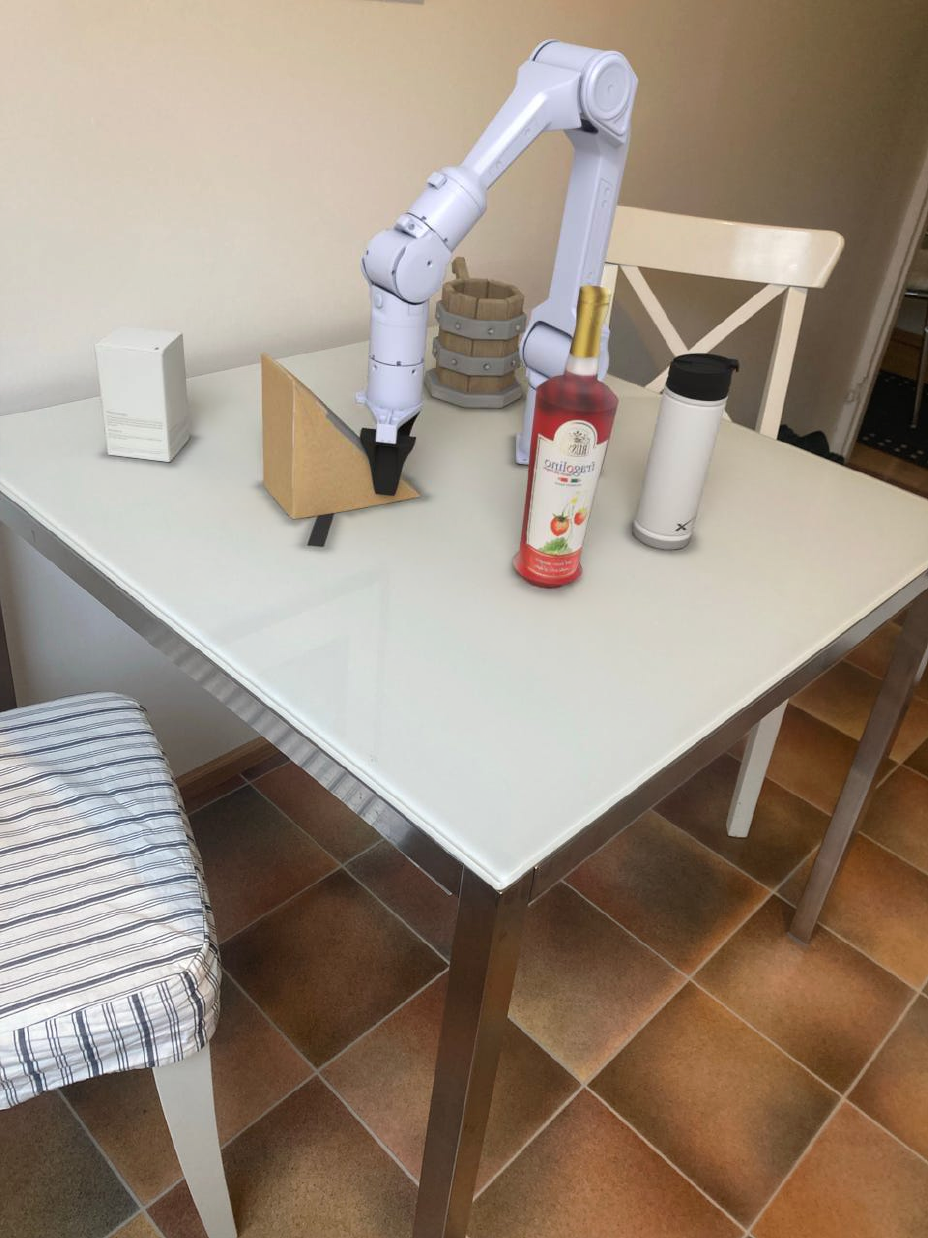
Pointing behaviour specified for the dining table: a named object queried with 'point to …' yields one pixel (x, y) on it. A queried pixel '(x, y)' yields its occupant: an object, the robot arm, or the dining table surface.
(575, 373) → the liquor
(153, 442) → the white packaging box
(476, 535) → the dining table surface
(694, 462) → the travel mug
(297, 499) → the sandwich container
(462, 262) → the tankard
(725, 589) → the dining table surface
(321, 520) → the tape line
